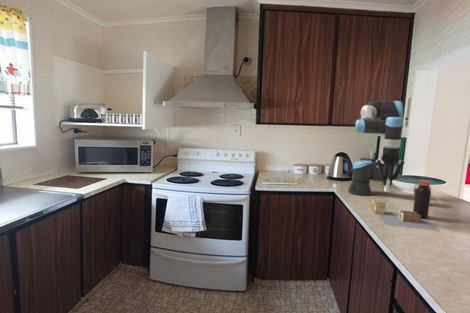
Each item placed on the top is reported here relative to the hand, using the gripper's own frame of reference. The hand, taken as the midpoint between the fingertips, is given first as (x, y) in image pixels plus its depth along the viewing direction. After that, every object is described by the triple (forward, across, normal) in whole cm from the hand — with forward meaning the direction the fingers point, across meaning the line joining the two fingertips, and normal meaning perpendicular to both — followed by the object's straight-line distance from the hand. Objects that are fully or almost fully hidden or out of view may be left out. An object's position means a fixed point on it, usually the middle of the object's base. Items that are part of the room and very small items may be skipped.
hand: (386, 191), depth 145 cm
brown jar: (+16, +30, +35) cm, 49 cm away
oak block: (+15, -1, +7) cm, 16 cm away
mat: (+15, +10, -1) cm, 18 cm away
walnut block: (+12, +8, -1) cm, 15 cm away
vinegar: (+15, +20, +7) cm, 26 cm away
